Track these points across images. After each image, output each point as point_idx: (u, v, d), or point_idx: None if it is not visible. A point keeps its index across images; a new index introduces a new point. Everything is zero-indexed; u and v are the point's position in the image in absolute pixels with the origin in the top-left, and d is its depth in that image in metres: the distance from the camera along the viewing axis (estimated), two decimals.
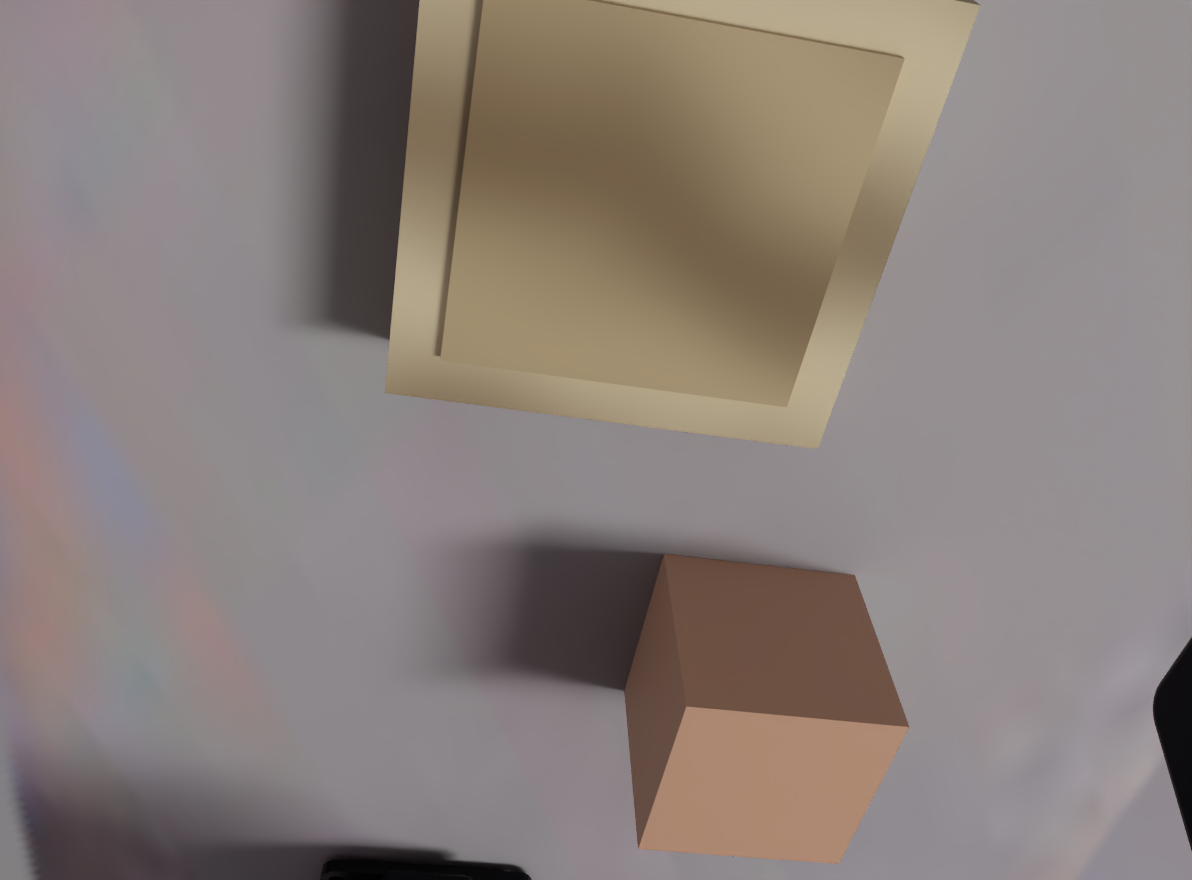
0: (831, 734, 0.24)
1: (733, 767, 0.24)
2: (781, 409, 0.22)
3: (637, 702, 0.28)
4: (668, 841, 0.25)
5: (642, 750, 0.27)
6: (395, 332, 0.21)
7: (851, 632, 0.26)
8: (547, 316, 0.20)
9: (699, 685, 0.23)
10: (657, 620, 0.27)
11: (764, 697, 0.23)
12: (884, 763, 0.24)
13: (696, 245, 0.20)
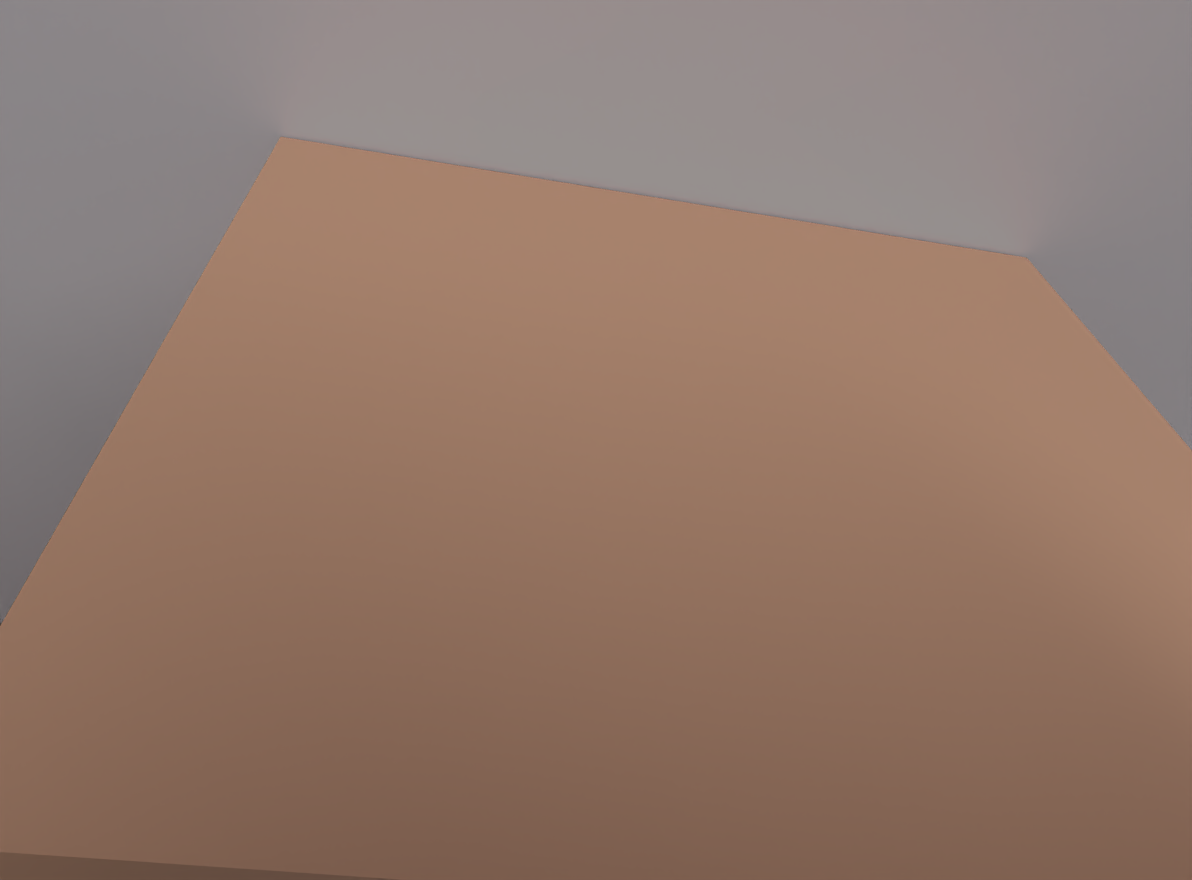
0: None
1: None
2: None
3: None
4: None
5: None
6: None
7: None
8: None
9: None
10: None
11: None
12: None
13: None
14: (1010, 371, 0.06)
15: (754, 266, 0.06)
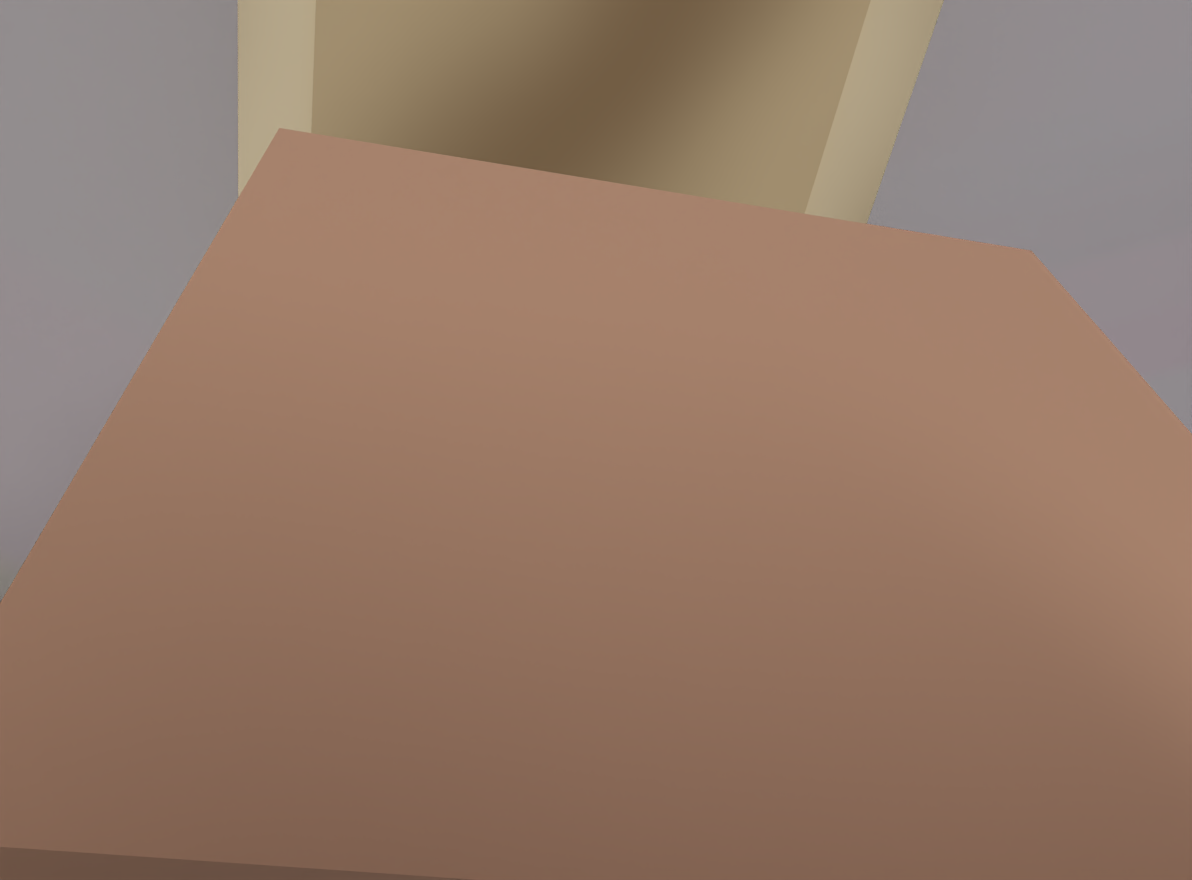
0: None
1: None
2: None
3: None
4: None
5: None
6: None
7: None
8: None
9: None
10: None
11: None
12: None
13: (603, 100, 0.15)
14: (1016, 363, 0.06)
15: (757, 258, 0.06)
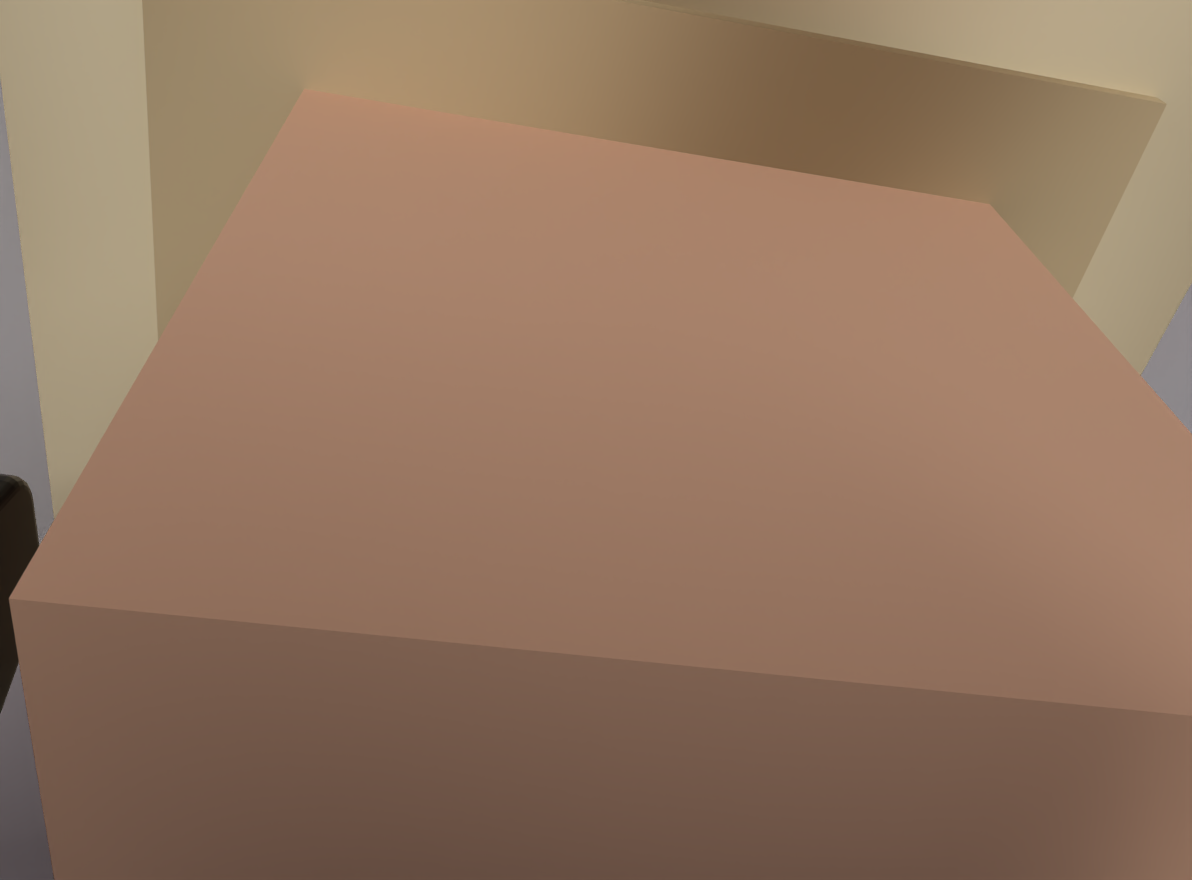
0: None
1: None
2: (1173, 108, 0.08)
3: None
4: None
5: None
6: None
7: None
8: None
9: None
10: None
11: None
12: (424, 670, 0.03)
13: None
14: (967, 294, 0.07)
15: (737, 204, 0.07)
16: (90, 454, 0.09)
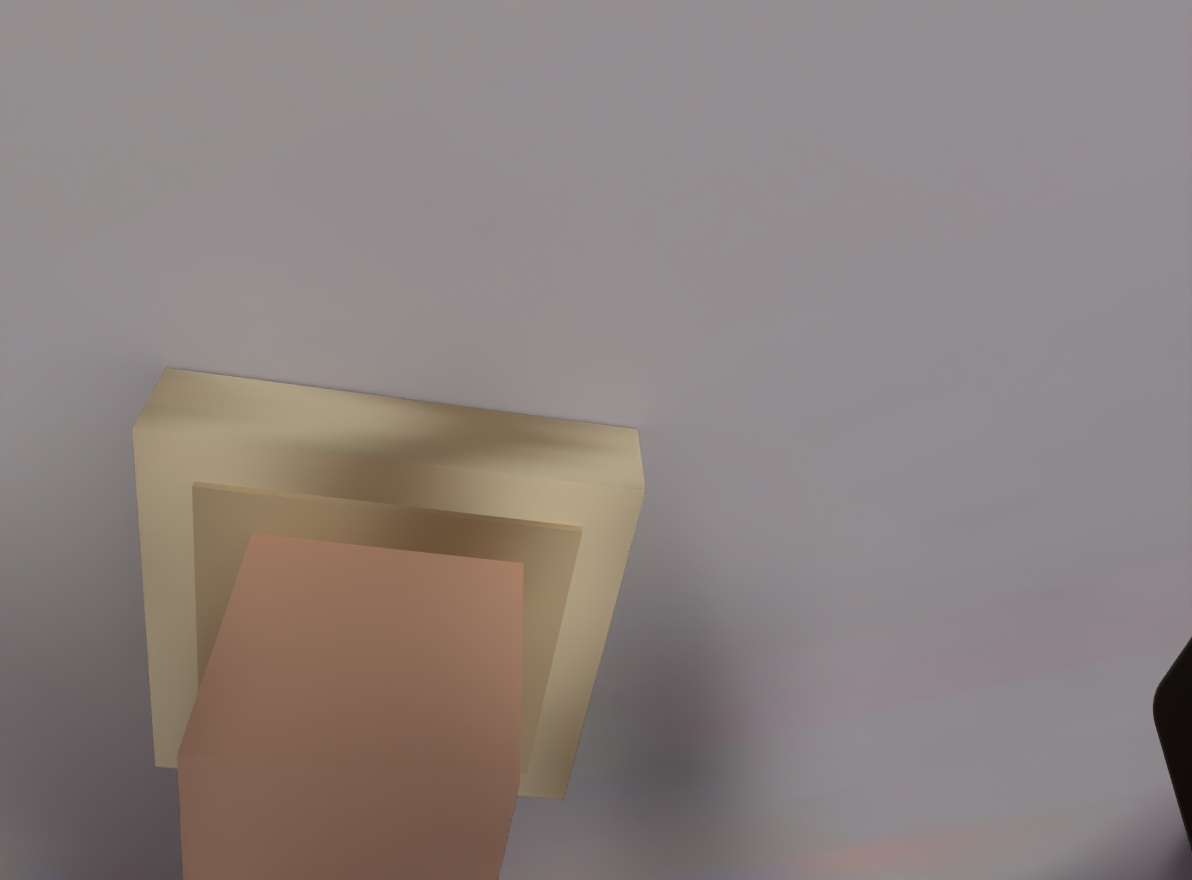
0: (210, 826, 0.17)
1: None
2: (589, 530, 0.20)
3: None
4: None
5: None
6: None
7: None
8: None
9: None
10: None
11: None
12: (265, 768, 0.16)
13: None
14: (478, 623, 0.19)
15: (408, 581, 0.19)
16: (166, 651, 0.21)
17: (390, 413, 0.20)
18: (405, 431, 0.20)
